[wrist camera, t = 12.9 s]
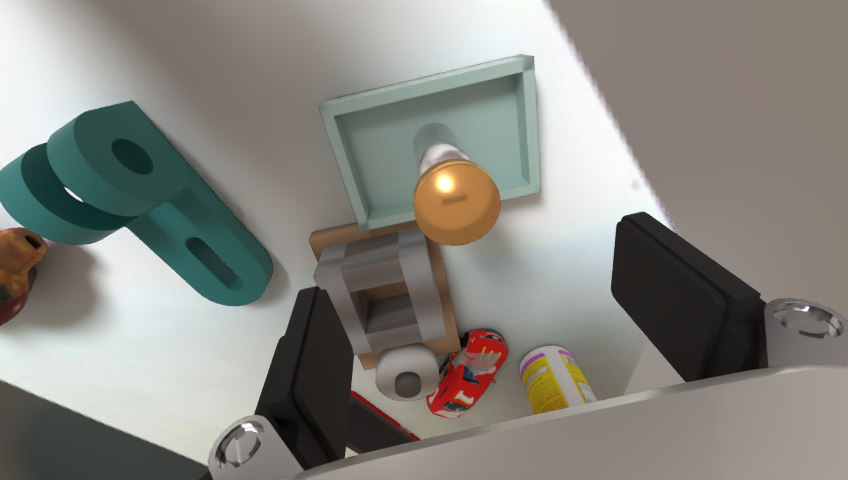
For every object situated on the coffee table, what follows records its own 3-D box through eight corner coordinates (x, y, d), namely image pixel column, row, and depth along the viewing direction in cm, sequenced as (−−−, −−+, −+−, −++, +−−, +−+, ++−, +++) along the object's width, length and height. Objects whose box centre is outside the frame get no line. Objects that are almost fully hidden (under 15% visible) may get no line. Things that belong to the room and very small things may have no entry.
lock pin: (401, 123, 28) (404, 176, 17) (457, 110, 28) (496, 156, 17) (414, 176, 30) (424, 253, 19) (465, 165, 30) (504, 235, 19)
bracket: (69, 143, 28) (-38, 178, 21) (133, 100, 27) (43, 121, 20) (233, 301, 36) (195, 362, 29) (288, 273, 35) (262, 330, 28)
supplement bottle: (514, 383, 45) (554, 497, 34) (520, 344, 42) (566, 457, 30) (567, 379, 45) (623, 491, 34) (577, 340, 42) (642, 450, 31)
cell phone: (350, 385, 44) (349, 392, 43) (423, 438, 50) (423, 445, 49) (305, 413, 45) (303, 420, 45) (380, 460, 52) (380, 467, 51)
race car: (472, 317, 40) (480, 344, 36) (512, 332, 41) (523, 360, 38) (417, 391, 45) (419, 421, 41) (454, 402, 46) (459, 432, 43)
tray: (325, 100, 27) (318, 107, 25) (520, 54, 27) (534, 56, 24) (363, 216, 32) (360, 231, 30) (528, 179, 32) (540, 192, 29)
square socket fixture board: (312, 232, 33) (291, 280, 26) (430, 206, 32) (438, 249, 26) (365, 359, 41) (359, 420, 34) (459, 340, 41) (471, 398, 34)
